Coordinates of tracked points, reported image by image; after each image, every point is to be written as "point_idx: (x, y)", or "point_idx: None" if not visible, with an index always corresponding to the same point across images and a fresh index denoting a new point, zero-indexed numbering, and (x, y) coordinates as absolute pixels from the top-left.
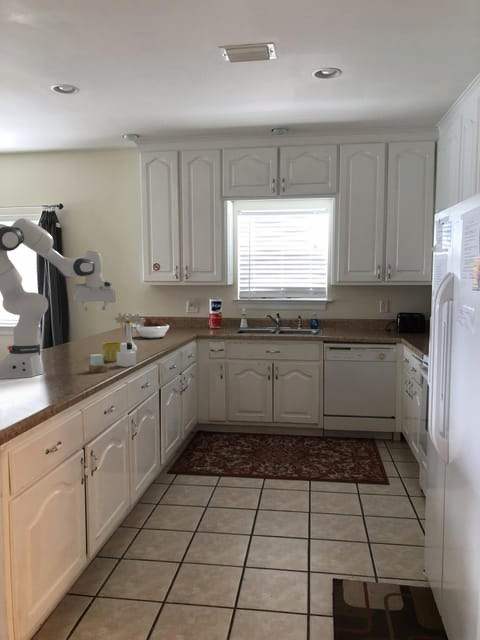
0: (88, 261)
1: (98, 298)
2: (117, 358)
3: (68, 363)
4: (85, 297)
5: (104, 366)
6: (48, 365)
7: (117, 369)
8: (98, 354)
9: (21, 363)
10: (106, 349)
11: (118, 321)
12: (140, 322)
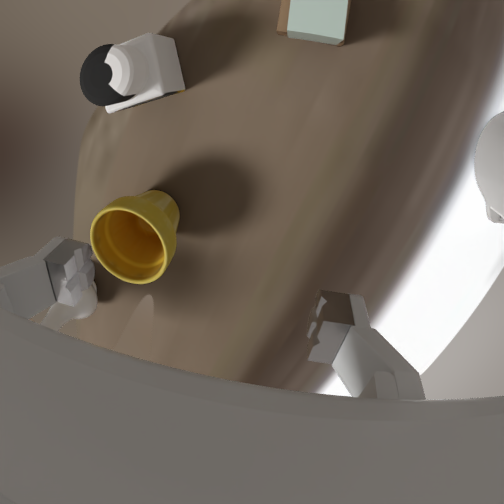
0: None
1: (36, 378)
2: (174, 86)
3: (322, 257)
4: (396, 484)
5: None
6: (393, 263)
7: (224, 6)
8: (303, 17)
9: None
10: (169, 219)
11: None
12: None
